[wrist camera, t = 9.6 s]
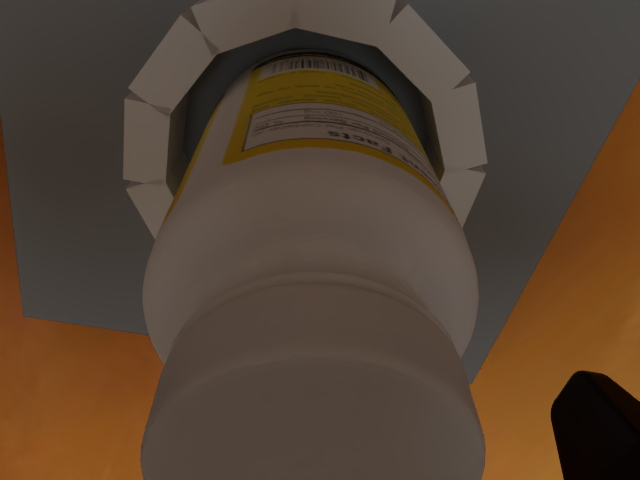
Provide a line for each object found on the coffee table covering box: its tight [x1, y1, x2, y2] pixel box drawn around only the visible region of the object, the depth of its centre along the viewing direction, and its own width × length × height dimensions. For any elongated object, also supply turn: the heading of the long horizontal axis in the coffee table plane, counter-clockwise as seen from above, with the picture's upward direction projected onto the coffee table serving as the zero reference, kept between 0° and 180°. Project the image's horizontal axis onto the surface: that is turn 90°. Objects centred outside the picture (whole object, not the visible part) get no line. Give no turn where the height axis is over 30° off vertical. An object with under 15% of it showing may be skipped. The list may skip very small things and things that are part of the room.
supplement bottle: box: [140, 49, 486, 480], centre depth 10 cm, size 5×5×10 cm
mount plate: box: [0, 0, 640, 384], centre depth 14 cm, size 16×16×3 cm
